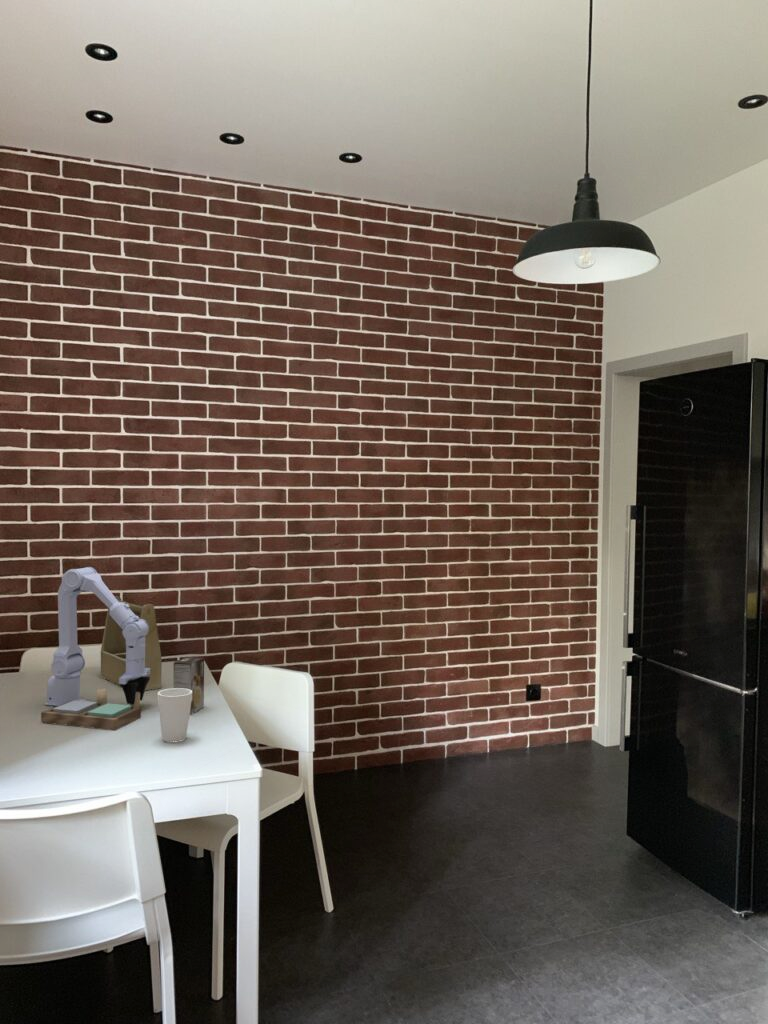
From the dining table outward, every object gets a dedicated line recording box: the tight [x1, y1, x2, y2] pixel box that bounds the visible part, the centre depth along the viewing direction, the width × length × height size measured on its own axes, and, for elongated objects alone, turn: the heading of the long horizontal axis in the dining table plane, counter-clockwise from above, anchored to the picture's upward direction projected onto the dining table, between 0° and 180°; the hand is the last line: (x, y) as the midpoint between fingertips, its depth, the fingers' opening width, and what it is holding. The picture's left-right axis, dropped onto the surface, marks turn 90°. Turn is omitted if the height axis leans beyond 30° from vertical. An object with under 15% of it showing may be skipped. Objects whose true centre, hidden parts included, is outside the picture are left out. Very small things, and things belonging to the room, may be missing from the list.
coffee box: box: [172, 656, 205, 715], centre depth 237 cm, size 9×6×16 cm
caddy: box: [100, 595, 163, 691], centre depth 271 cm, size 29×11×30 cm, turn 42°
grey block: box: [53, 688, 108, 714], centre depth 231 cm, size 8×20×6 cm, turn 167°
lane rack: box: [40, 701, 142, 731], centre depth 224 cm, size 24×14×3 cm, turn 77°
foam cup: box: [156, 687, 192, 743], centre depth 208 cm, size 10×9×13 cm
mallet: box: [88, 692, 141, 718], centre depth 228 cm, size 8×20×6 cm, turn 167°
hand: (134, 701), depth 236 cm, fingers open, 4 cm apart
